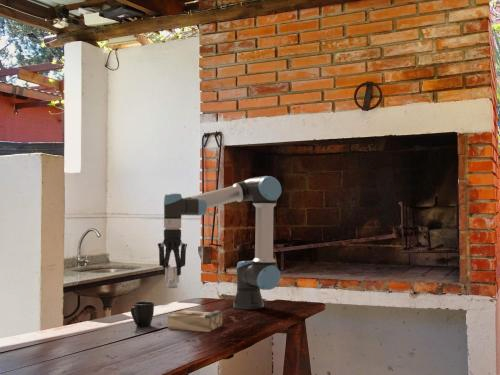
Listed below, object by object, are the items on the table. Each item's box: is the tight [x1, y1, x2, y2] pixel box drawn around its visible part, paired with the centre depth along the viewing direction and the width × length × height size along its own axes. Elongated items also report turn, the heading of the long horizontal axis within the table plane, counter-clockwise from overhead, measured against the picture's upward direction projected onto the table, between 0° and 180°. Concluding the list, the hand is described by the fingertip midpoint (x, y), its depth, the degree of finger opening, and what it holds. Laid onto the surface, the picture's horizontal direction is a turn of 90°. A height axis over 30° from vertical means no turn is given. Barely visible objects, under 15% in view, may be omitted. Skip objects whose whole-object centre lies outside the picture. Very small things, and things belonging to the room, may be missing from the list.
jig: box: [167, 309, 223, 333], centre depth 229 cm, size 14×18×6 cm
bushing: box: [166, 265, 178, 289], centre depth 242 cm, size 4×4×9 cm
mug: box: [130, 301, 155, 328], centre depth 229 cm, size 8×12×10 cm
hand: (172, 282), depth 242 cm, fingers closed on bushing, 4 cm apart
